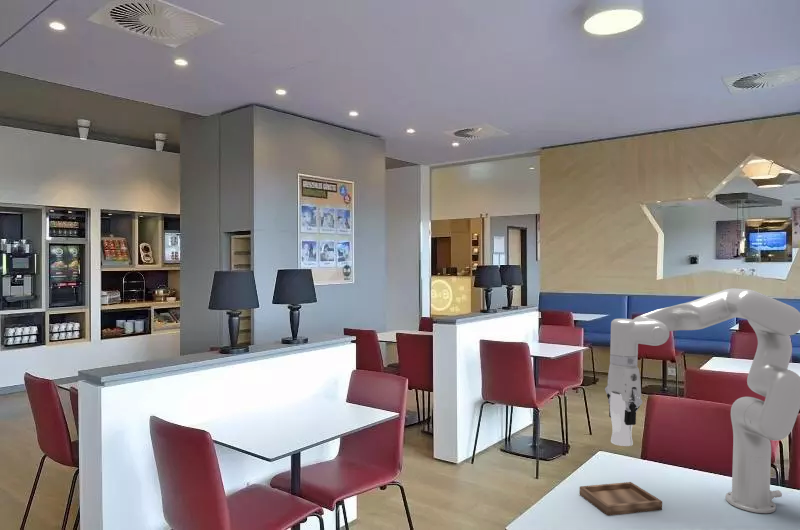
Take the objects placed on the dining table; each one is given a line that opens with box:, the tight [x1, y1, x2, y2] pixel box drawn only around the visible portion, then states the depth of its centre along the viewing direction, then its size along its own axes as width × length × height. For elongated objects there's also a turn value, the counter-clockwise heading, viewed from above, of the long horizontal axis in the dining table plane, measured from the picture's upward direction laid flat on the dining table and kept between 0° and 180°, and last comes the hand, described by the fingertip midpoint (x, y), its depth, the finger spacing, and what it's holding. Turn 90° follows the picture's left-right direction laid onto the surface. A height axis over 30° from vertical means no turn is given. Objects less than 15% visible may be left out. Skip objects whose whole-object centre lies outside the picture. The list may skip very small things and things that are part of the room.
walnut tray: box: [578, 481, 663, 517], centre depth 164 cm, size 18×14×2 cm
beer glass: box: [610, 391, 634, 447], centre depth 163 cm, size 7×7×15 cm
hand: (622, 420), depth 163 cm, fingers closed on beer glass, 6 cm apart
